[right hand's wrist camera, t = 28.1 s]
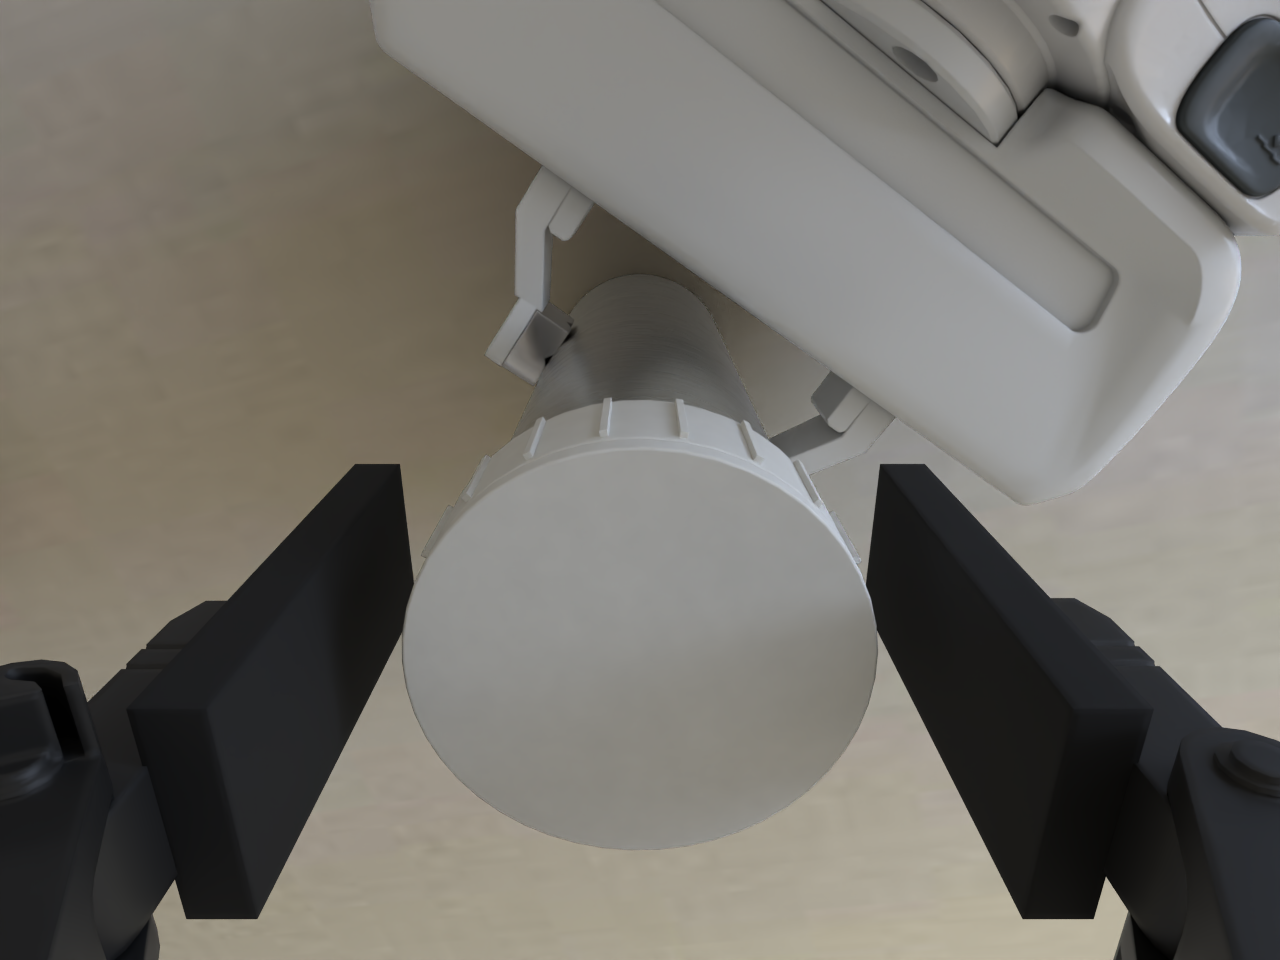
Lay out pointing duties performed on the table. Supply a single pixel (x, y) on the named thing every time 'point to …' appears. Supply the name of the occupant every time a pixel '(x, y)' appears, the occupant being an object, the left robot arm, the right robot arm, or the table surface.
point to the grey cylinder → (640, 354)
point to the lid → (639, 629)
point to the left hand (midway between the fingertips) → (622, 438)
